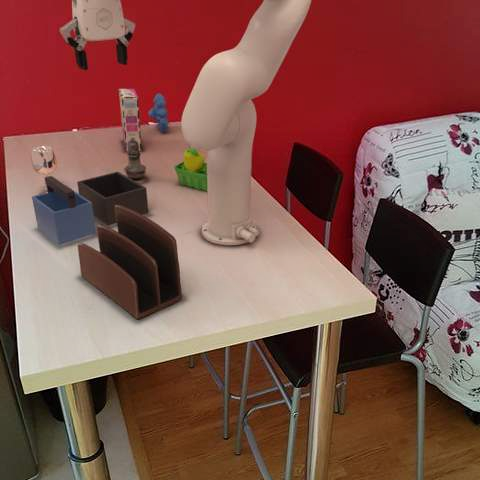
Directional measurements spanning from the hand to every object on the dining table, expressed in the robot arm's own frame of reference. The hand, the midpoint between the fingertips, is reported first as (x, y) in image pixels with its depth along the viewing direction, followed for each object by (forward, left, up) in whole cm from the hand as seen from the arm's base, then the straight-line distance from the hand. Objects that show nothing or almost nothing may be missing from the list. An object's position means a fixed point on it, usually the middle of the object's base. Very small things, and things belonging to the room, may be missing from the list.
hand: (103, 66), depth 129 cm
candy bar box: (+33, -24, -32) cm, 52 cm away
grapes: (+41, -39, -32) cm, 65 cm away
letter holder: (-38, +19, -32) cm, 54 cm away
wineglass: (+13, +12, -32) cm, 37 cm away
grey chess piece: (+8, -10, -32) cm, 35 cm away
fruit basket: (-5, -21, -32) cm, 39 cm away
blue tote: (-9, +18, -32) cm, 38 cm away
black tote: (-6, +4, -32) cm, 33 cm away
